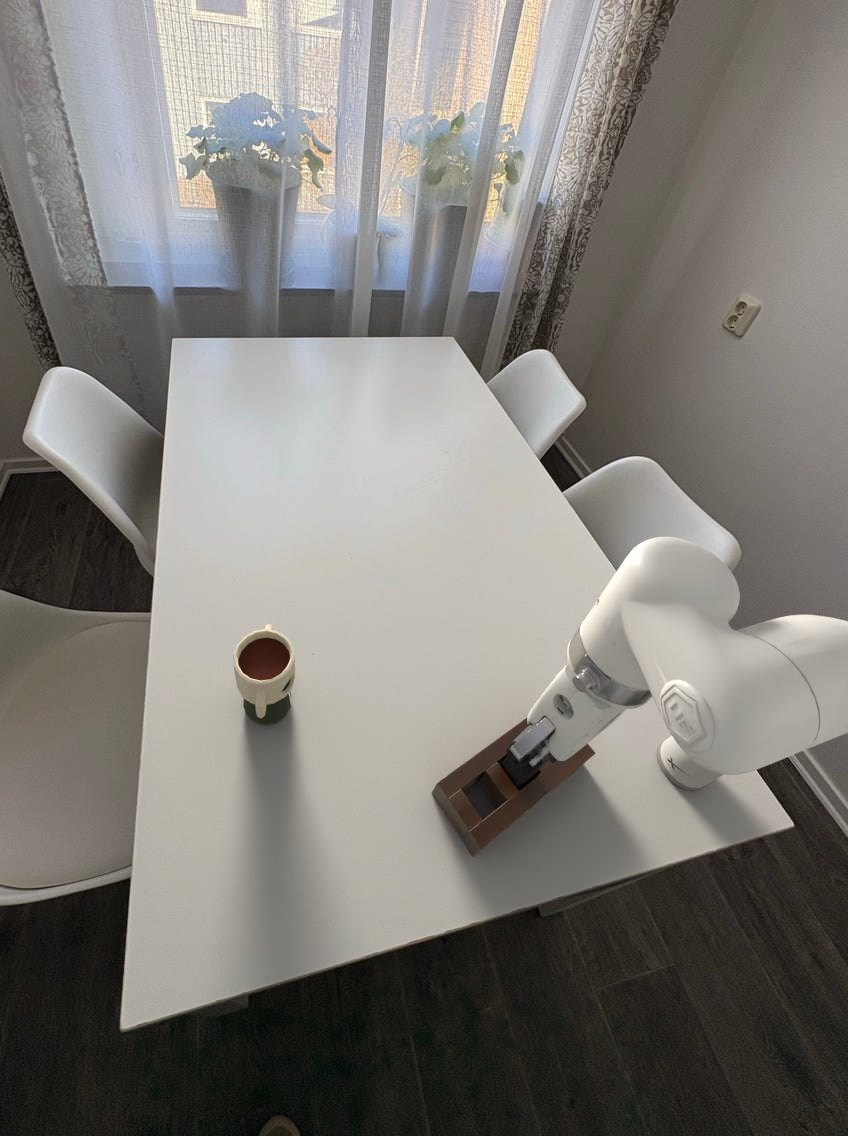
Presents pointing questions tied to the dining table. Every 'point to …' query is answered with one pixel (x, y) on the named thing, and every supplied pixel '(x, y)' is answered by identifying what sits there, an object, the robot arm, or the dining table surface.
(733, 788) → the dining table surface
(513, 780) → the peg
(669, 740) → the travel mug
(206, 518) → the dining table surface
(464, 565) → the dining table surface
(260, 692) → the character mug
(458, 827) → the holder
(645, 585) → the robot arm
